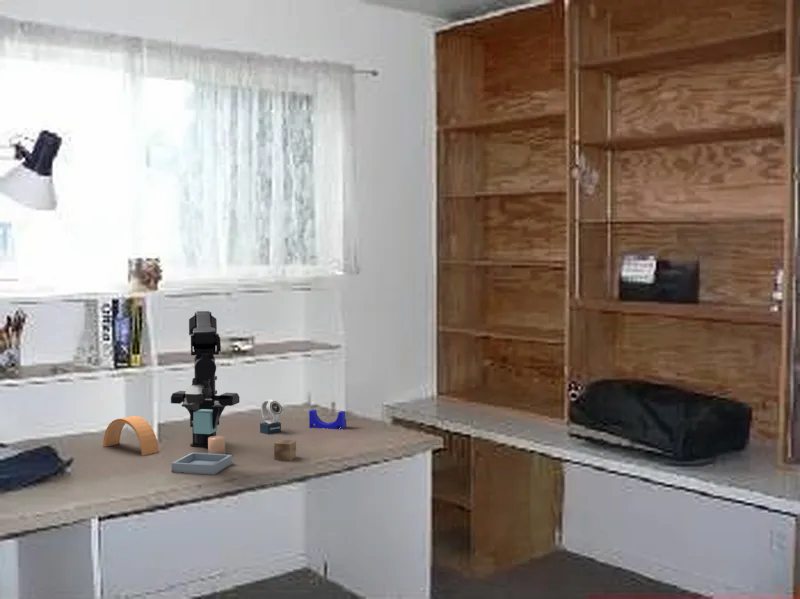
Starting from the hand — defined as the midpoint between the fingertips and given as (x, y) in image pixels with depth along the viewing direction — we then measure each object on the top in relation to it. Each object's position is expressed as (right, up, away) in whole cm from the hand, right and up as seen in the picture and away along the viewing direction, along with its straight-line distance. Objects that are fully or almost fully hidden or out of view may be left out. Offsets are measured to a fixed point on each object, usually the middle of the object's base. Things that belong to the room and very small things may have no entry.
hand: (205, 428), depth 248 cm
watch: (+12, -8, +46) cm, 49 cm away
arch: (-28, -10, +22) cm, 37 cm away
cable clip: (+30, -8, +55) cm, 63 cm away
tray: (-1, -11, 0) cm, 11 cm away
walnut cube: (+21, -11, +12) cm, 26 cm away
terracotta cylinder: (0, -10, +16) cm, 19 cm away
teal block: (0, -1, 0) cm, 1 cm away
